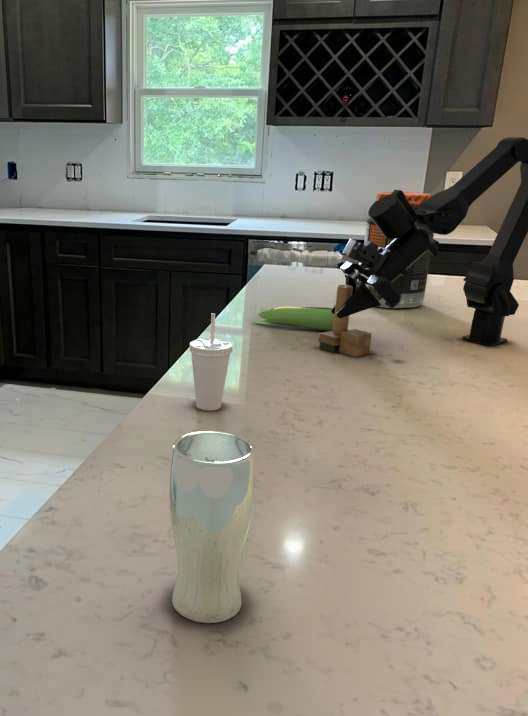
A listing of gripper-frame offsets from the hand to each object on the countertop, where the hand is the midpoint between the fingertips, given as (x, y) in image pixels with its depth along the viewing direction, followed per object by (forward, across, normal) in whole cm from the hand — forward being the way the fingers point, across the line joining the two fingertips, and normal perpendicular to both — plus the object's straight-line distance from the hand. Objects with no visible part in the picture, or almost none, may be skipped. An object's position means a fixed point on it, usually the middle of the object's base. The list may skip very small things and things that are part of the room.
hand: (334, 314), depth 139 cm
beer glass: (+31, +81, -22) cm, 89 cm away
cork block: (+2, +4, +7) cm, 8 cm away
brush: (+4, 0, +6) cm, 7 cm away
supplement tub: (-15, -40, +25) cm, 49 cm away
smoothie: (+25, +31, -16) cm, 43 cm away
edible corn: (+6, -16, +4) cm, 18 cm away
